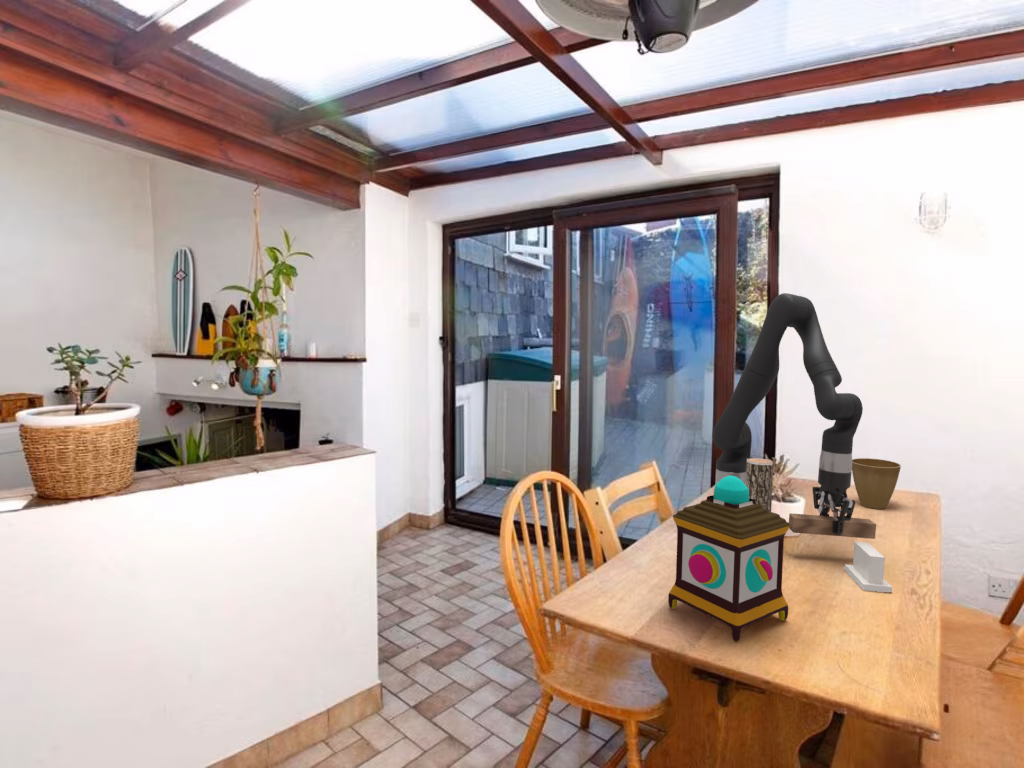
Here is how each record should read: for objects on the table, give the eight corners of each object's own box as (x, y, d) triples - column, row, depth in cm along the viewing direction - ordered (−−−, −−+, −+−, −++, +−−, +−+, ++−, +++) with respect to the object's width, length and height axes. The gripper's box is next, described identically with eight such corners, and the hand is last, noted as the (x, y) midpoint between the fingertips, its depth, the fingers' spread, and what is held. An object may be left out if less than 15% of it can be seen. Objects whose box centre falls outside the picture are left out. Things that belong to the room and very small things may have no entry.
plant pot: (850, 498, 208) (852, 456, 207) (898, 505, 200) (901, 461, 198) (846, 507, 196) (849, 463, 195) (897, 515, 188) (900, 469, 186)
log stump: (769, 545, 158) (773, 459, 156) (769, 554, 152) (773, 464, 150) (743, 542, 161) (747, 457, 159) (742, 549, 155) (746, 461, 153)
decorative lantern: (717, 586, 132) (721, 461, 129) (798, 622, 115) (805, 479, 113) (658, 607, 121) (662, 471, 119) (738, 649, 104) (744, 493, 102)
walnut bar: (793, 532, 148) (794, 518, 147) (788, 527, 152) (789, 513, 151) (874, 538, 145) (876, 524, 144) (867, 533, 149) (869, 519, 148)
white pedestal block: (862, 590, 130) (864, 557, 129) (844, 570, 142) (846, 539, 141) (891, 593, 129) (893, 559, 128) (870, 572, 140) (872, 541, 140)
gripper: (868, 475, 140) (862, 540, 141) (830, 461, 154) (825, 521, 156) (840, 475, 139) (835, 540, 141) (804, 461, 153) (800, 521, 155)
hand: (830, 530), depth 148 cm, fingers closed on walnut bar, 4 cm apart
